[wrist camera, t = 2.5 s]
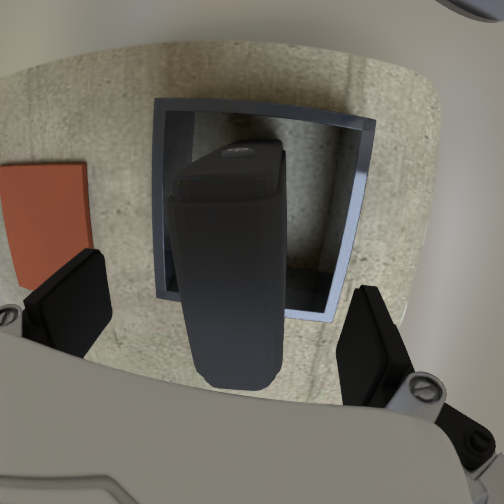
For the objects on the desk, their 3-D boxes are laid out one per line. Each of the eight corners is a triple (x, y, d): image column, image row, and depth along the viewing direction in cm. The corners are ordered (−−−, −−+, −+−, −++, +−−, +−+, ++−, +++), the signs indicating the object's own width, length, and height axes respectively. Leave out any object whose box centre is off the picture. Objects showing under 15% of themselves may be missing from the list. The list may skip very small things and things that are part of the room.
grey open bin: (185, 100, 21) (154, 97, 16) (354, 117, 20) (376, 119, 15) (180, 261, 27) (156, 298, 22) (324, 280, 26) (332, 323, 21)
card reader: (230, 135, 22) (142, 172, 9) (285, 133, 22) (281, 165, 8) (237, 247, 26) (187, 389, 12) (286, 247, 25) (280, 397, 12)
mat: (2, 165, 25) (-3, 166, 24) (86, 163, 24) (81, 164, 23) (23, 283, 31) (19, 286, 31) (102, 304, 31) (99, 308, 30)
